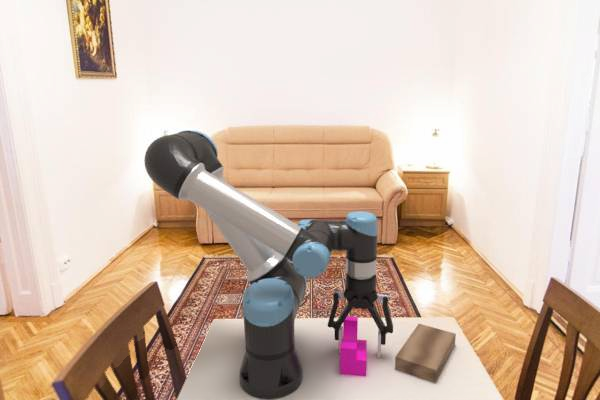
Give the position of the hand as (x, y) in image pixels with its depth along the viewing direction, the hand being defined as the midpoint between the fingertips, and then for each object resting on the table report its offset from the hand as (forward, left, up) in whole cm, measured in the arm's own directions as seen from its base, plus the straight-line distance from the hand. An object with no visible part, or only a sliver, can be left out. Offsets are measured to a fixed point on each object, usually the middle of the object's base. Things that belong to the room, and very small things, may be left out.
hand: (359, 352), depth 115 cm
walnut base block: (+17, +2, -1) cm, 17 cm away
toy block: (-1, -2, -1) cm, 2 cm away
